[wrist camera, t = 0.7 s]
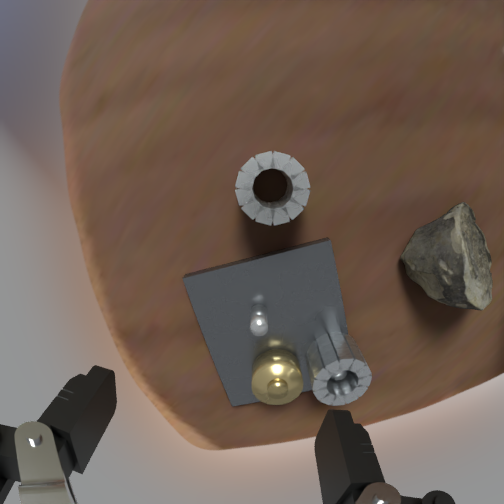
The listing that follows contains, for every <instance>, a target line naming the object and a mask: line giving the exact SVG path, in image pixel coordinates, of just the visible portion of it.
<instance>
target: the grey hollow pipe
mask: <svg viewBox="0 0 504 504" xmlns="http://www.w3.org/2000/svg"><path fill="white" fill-rule="evenodd" d="M307 350H308V351H307V353H306V364H307V369H308V373H309V377H310V381H311V386H312V390H313V393H314V395H315V396H316V398H317V399H318V400H320V402H322V403H325V404H327V405H331V404H332V406H336V405H345V401H346V403H347V404H348V403H350V402H352V401H354V400H356V399H358V396H359V397H361V396H362V395H363V394H364V392H365V391H366V390H367V389H368V386H370V382H371V377H372V375H371V374H372V373H371V371H370V369H369V367H368V365H367V363H366V361H365V359H364V357H363V355H362V353H361V352H360V350H359V348H358V346H357V344H356V342H355V340H354V338H353V337H351V336H349V335H347V334H345V333H341V332H329V336H328V334H327V333H326V334H324V335H322V336H320V337H318V338H316V341H315V340H314V341H313V343H312V344H311V345H310V347H309V348H308V349H307ZM344 370H346V371H347V375H346V377H345V378H343V379H342V380H334V379H333V378H332V375H333V374H335V373H337V372H339V371H344Z"/></svg>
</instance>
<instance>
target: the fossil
mask: <svg viewBox="0 0 504 504" xmlns="http://www.w3.org/2000/svg"><path fill="white" fill-rule="evenodd" d="M475 220H476V218H475V216H474V212H473V210H472V209H471V208H470V207H469V205H468V204H466V203H464V202H462V203H460V204H458V205H456V206H454V207H452V208H451V209H450V210H449V211H448V212H447V213H446V214H444V215H443V216H442V217H440V218H438V219H436V220H435V221H433V222H431V223H429V224H427V225H424V226H422V227H420V228H418V229H417V230H416V231H415V232H414V234H413V236H412V238H411V239H410V241H409V244H408V245H407V246H406V248H405V250H404V252H403V254H402V255H401V257H400V259H401V260H402V261H403V263H404V264H405V269H406V273H407V275H408V277H409V278H410V279H411V280H413V281H414V282H415V283H417V284H418V285H419V286H421V287H422V288H423V289H424V291H425V293H426V294H427V295H428V296H429V297H430V298H433V299H435V300H436V301H438V302H440V303H444V304H446V305H448V306H452V307H457V308H464V309H475V310H483V309H484V308H485V307H486V306H487V305H488V304H489V303H490V302H491V300H492V295H491V288H492V277H491V273H490V267H491V256H490V253H489V250H488V248H487V244H486V240H485V236H484V234H483V232H482V230H481V229H480V228H479V227H478V226H477V225H476V223H475Z"/></svg>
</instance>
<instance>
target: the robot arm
mask: <svg viewBox="0 0 504 504" xmlns="http://www.w3.org/2000/svg"><path fill="white" fill-rule="evenodd" d="M116 403H117V398H116V386H115V373H114V371H113V370H109V369H106V368H102V367H99V366H96V365H95V366H93V367H92V369H91V370H90V371H89V372H88V374H87V375H86V376H85V375H83V374H79V375H77V376H75V377H73V378H72V379H70V380H69V381H68V382H67V383H66V385H65V386H64V387H63V390H61V391H60V392H59V394H58V396H57V397H55V399H54V400H53V401H52V402H51V404H50V405H49V406H48V408H47V409H46V410H45V411H44V413H43V414H42V416H41V417H40V418H39V419H38V420H37V422H36V421H31V422H25V423H23V424H21V425H20V426H19V427H18V428H15V427H10V426H5V425H1V424H0V504H3V503H4V501H5V499H6V497H7V495H8V493H9V491H10V490H11V488H12V486H13V484H14V482H15V481H18V482H21V485H19V487H18V489H19V496H20V501H21V504H78V503H77V500H76V497H75V494H74V492H73V488H72V485H71V483H70V479H69V476H70V475H71V473H72V471H76V472H78V473H81V474H83V472H84V470H85V468H86V466H87V464H88V462H89V460H90V458H91V456H92V454H93V453H94V451H95V449H96V447H97V445H98V443H99V441H100V439H101V437H102V436H103V434H104V432H105V430H106V428H107V426H108V424H109V422H110V420H111V418H112V417H113V415H114V412H115V409H116ZM315 456H316V462H317V467H318V474H319V481H320V487H321V493H322V500H323V504H455V502H454V500H453V498H452V497H451V496H450V495H449V494H447V493H445V492H443V491H431V492H429V493H427V494H426V495H425V496H424V497H423V498H422V499H421V498H413V497H405V496H401V495H400V494H399V492H398V491H397V489H396V488H394V487H393V486H391V485H389V484H387V483H385V480H384V477H383V474H382V472H381V468H380V465H379V463H378V460H377V457H376V454H375V453H374V448H373V445H371V440H370V437H369V434H368V432H367V431H366V430H365V429H364V428H363V426H362V425H361V424H354V422H353V419H352V416H351V413H350V411H348V410H328V412H327V414H326V416H325V418H324V421H323V423H322V425H321V427H320V430H319V432H318V434H317V436H316V440H315Z"/></svg>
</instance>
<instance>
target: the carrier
mask: <svg viewBox="0 0 504 504" xmlns="http://www.w3.org/2000/svg"><path fill="white" fill-rule="evenodd" d="M183 281H184V284H185V287H186V289H187V292H188V295H189V298H190V301H191V303H192V306H193V309H194V312H195V314H196V317H197V320H198V322H199V325H200V328H201V330H202V333H203V336H204V338H205V341H206V343H207V346H208V349H209V351H210V354H211V356H212V359H213V361H214V364H215V366H216V369H217V371H218V374H219V376H220V378H221V381H222V383H223V386H224V388H225V390H226V393H227V395H228V398H229V400H230V402H231V405H232V406H238V405H243V404H249V403H254V402H260V401H262V402H264V403H266V404H270V405H282V404H286V403H289V402H291V401H293V400H294V399H296V398H297V397H298V396H299V395H300V393H301V392H305V391H310V390H312V386H311V381H310V377H309V373H308V369H307V364H306V353H307V351H308V350H307V349H308V348H309V347H310V345H311V344H312V343H313V341H314V340H315V341H316V338H318V337H320V336H322V335H324V334H326V333H327V334H328V336H329V332H341V333H345V334H347V335H348V330H347V324H346V318H345V312H344V307H343V301H342V295H341V290H340V285H339V279H338V274H337V269H336V264H335V259H334V254H333V249H332V245H331V240H330V239H329V238H328V237H327V238H323V239H319V240H316V241H312V242H308V243H304V244H300V245H297V246H293V247H289V248H285V249H281V250H277V251H274V252H270V253H266V254H262V255H258V256H254V257H251V258H247V259H243V260H239V261H235V262H231V263H227V264H224V265H220V266H216V267H212V268H208V269H204V270H200V271H196V272H193V273H189V274H185V276H184V277H183ZM346 375H347V371H346V370H344V371H339V372H337V373H335V374H333V375H332V378H333V379H334V380H342V379H343V378H345V377H346Z"/></svg>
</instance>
